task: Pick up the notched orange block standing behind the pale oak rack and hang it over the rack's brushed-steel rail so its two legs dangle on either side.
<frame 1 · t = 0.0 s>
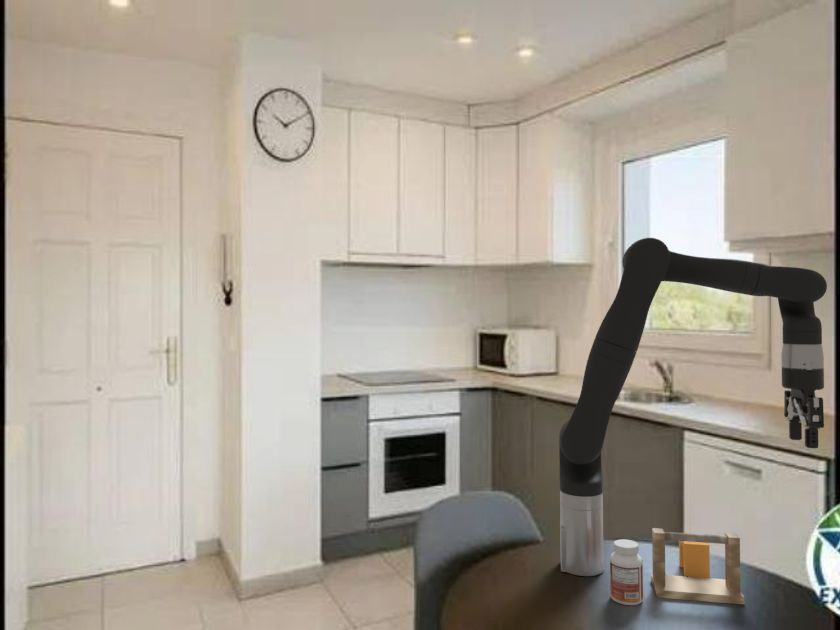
hand: (803, 443, 130), 29 cm above the table, fingers open, 8 cm apart
rack: (695, 592, 126), on the table
notched orange block: (694, 571, 136), on the table
pill bottle: (626, 600, 123), on the table
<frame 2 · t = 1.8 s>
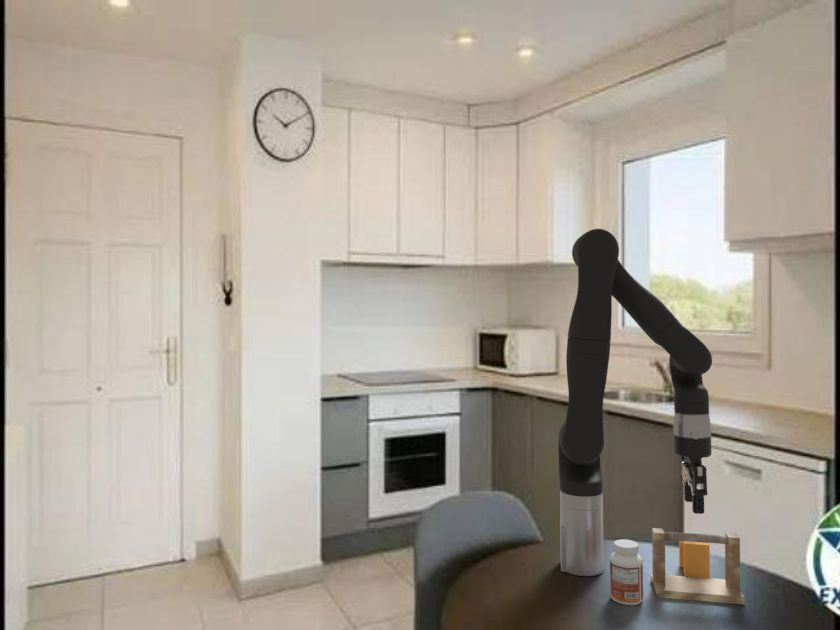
hand: (694, 507, 137), 14 cm above the table, fingers open, 8 cm apart
nothing on the table moved.
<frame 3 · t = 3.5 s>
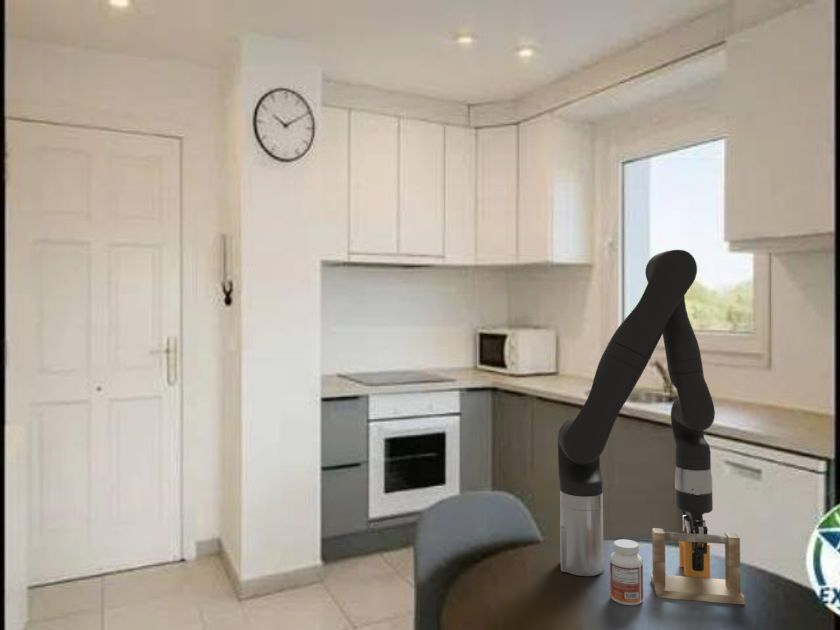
hand: (694, 564, 136), 2 cm above the table, fingers closed on notched orange block, 6 cm apart
notched orange block: (694, 571, 136), on the table, touching gripper
everything else where it was.
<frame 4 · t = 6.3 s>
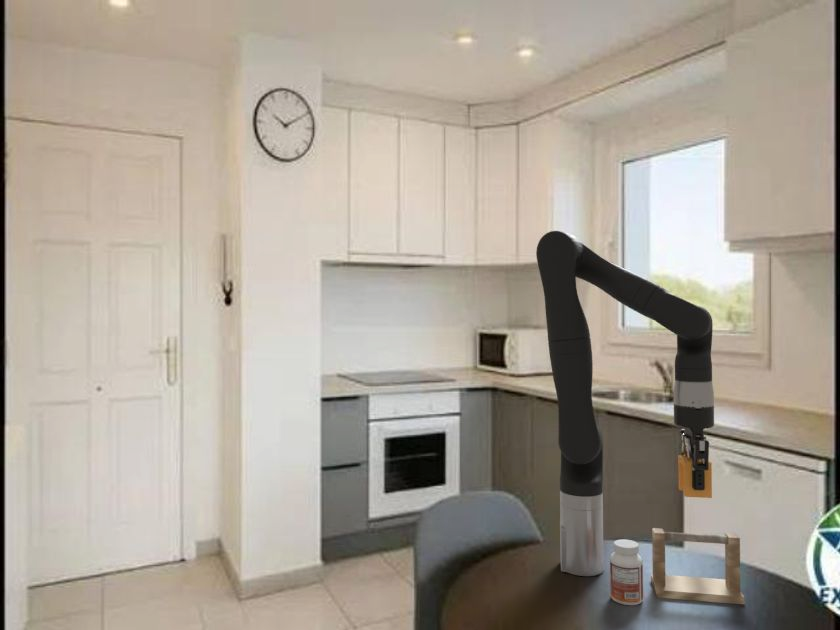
hand: (694, 485, 127), 22 cm above the table, fingers closed on notched orange block, 6 cm apart
notched orange block: (694, 493, 127), point 20 cm above the table, touching gripper
everything else where it was.
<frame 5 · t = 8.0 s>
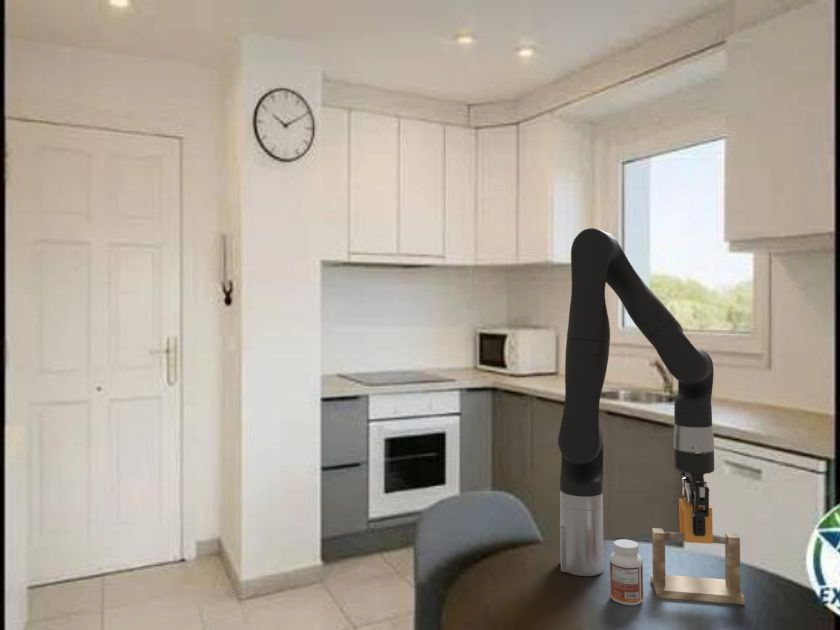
hand: (695, 529, 126), 13 cm above the table, fingers closed on notched orange block, 6 cm apart
notched orange block: (695, 537, 126), point 11 cm above the table, touching gripper
everything else where it was.
when the fingers open (9 cm above the table, at t = 9.3 s): notched orange block drops 1 cm, resting on rack.
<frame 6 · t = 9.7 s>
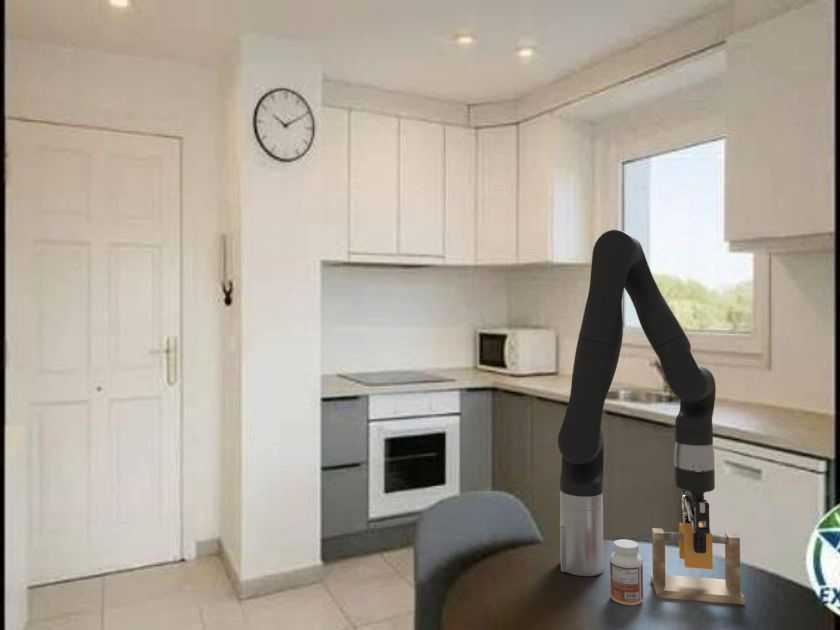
hand: (695, 544, 126), 10 cm above the table, fingers open, 8 cm apart
notched orange block: (695, 562, 126), point 6 cm above the table, touching rack
everything else where it was.
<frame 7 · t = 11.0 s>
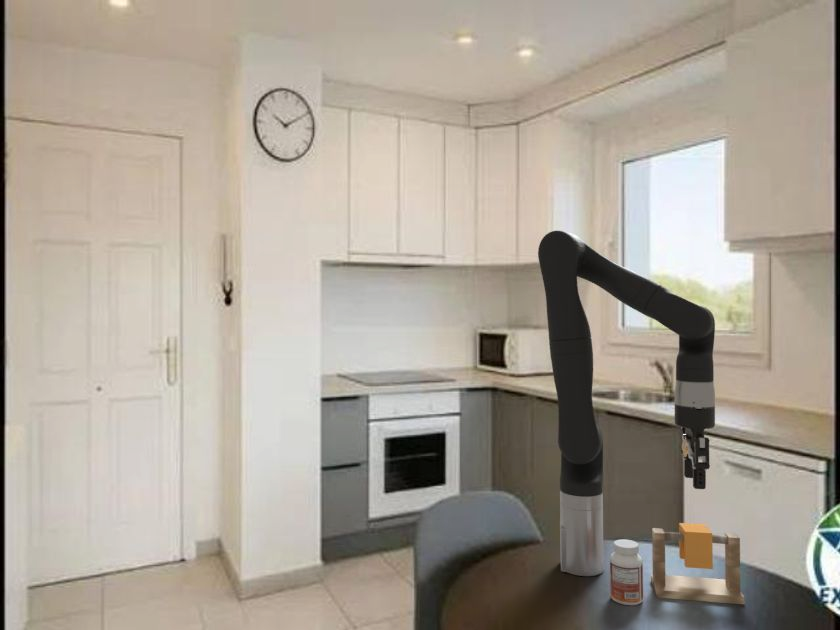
hand: (694, 482, 126), 22 cm above the table, fingers open, 8 cm apart
nothing on the table moved.
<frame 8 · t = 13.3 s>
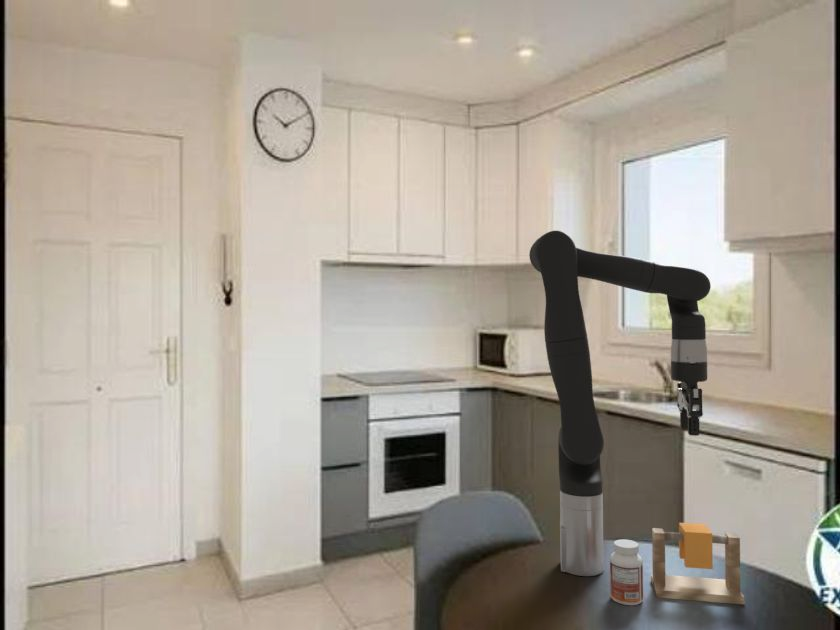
hand: (689, 431, 140), 30 cm above the table, fingers open, 8 cm apart
nothing on the table moved.
at the end: notched orange block 0.1 cm from the target spot, point 6.0 cm above the table; notched orange block touching rack; the gripper is holding nothing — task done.
